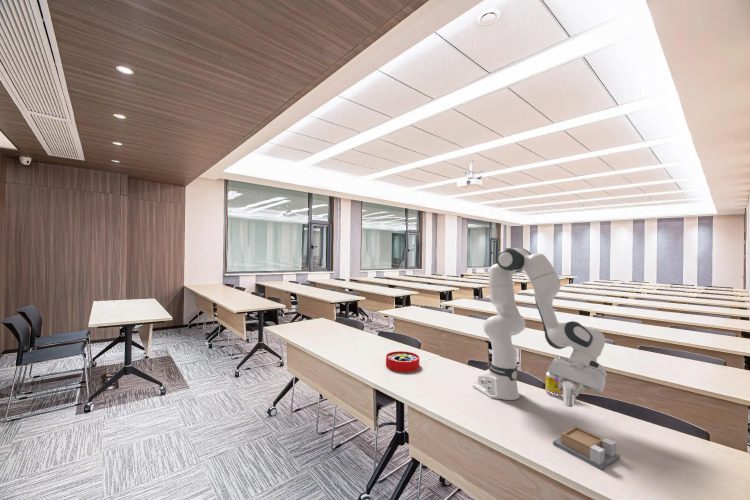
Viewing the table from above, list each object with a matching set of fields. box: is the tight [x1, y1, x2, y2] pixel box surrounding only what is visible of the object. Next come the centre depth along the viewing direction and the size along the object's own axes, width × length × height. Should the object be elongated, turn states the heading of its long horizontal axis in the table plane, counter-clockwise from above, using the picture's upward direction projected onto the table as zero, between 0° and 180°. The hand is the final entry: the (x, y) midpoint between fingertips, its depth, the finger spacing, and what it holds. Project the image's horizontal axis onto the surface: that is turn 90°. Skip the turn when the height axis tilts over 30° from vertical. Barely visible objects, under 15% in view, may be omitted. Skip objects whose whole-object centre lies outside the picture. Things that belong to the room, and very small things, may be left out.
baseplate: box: [552, 425, 621, 472], centre depth 113 cm, size 16×12×5 cm
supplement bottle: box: [545, 371, 562, 397], centre depth 159 cm, size 7×7×13 cm
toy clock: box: [385, 350, 420, 373], centre depth 194 cm, size 20×6×20 cm
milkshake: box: [560, 379, 576, 408], centre depth 128 cm, size 5×5×10 cm
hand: (567, 391), depth 128 cm, fingers closed on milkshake, 4 cm apart
